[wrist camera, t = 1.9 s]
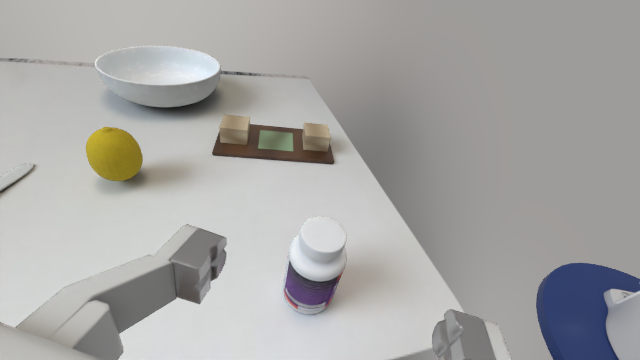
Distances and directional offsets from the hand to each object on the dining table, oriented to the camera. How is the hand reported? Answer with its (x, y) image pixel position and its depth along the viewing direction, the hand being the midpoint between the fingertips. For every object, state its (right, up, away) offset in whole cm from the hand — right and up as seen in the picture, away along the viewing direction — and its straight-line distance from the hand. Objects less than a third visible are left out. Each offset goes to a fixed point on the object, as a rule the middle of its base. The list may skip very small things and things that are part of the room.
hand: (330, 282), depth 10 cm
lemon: (-27, +4, +28) cm, 39 cm away
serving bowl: (-31, +21, +47) cm, 60 cm away
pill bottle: (-2, -8, +20) cm, 22 cm away
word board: (-8, +10, +40) cm, 42 cm away
